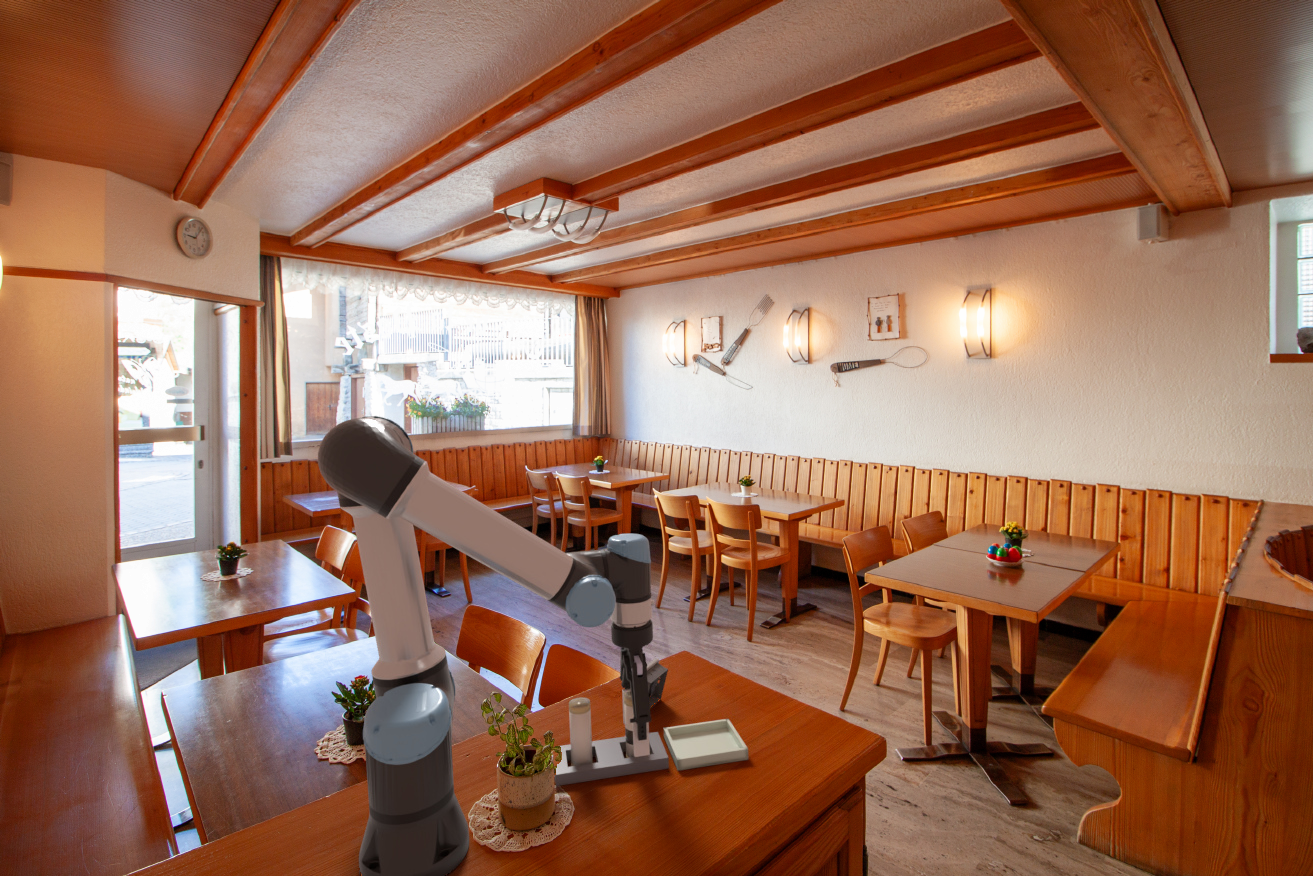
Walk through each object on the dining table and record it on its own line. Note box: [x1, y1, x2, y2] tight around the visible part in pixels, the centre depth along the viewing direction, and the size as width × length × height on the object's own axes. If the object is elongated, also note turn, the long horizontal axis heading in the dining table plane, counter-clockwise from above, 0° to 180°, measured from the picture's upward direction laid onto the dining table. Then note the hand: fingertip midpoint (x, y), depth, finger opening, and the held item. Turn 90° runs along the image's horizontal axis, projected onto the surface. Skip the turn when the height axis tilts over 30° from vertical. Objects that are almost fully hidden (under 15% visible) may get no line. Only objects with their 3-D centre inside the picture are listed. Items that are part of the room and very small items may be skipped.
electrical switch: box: [647, 657, 669, 709], centre depth 136 cm, size 9×5×9 cm, turn 150°
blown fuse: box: [624, 691, 634, 758], centre depth 117 cm, size 4×4×12 cm
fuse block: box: [554, 731, 670, 787], centre depth 116 cm, size 20×9×2 cm, turn 102°
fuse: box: [568, 697, 594, 767], centre depth 115 cm, size 4×4×12 cm
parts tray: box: [663, 718, 749, 772], centre depth 120 cm, size 13×11×2 cm
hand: (635, 738), depth 117 cm, fingers open, 11 cm apart
